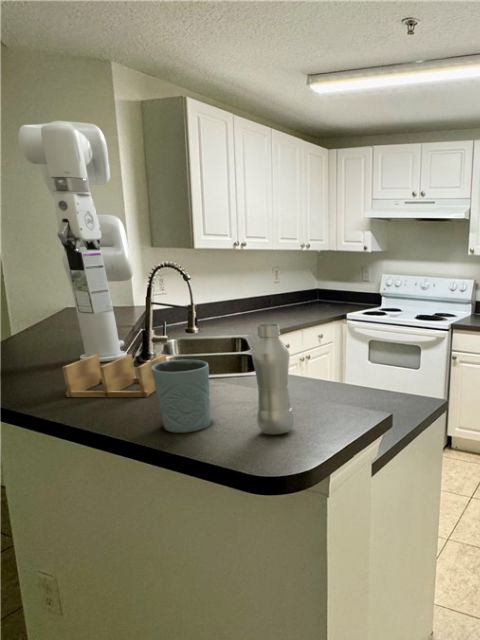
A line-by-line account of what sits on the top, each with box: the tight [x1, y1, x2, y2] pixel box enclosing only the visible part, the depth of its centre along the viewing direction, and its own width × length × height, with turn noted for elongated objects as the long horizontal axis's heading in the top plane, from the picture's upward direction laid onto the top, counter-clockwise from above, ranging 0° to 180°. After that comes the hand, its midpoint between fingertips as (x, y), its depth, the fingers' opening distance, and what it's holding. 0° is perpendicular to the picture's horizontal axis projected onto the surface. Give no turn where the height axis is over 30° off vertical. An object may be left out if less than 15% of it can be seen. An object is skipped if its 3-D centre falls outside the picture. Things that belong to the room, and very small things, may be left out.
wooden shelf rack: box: [61, 353, 167, 398], centre depth 130 cm, size 14×18×7 cm
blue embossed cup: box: [151, 359, 212, 434], centre depth 104 cm, size 10×10×12 cm
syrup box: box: [64, 250, 114, 314], centre depth 131 cm, size 6×6×14 cm
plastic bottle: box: [251, 323, 295, 435], centre depth 99 cm, size 6×7×20 cm
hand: (86, 268), depth 130 cm, fingers closed on syrup box, 7 cm apart
